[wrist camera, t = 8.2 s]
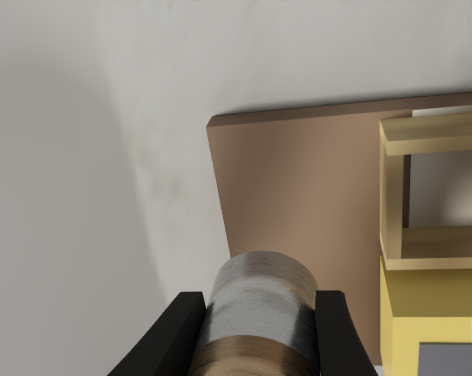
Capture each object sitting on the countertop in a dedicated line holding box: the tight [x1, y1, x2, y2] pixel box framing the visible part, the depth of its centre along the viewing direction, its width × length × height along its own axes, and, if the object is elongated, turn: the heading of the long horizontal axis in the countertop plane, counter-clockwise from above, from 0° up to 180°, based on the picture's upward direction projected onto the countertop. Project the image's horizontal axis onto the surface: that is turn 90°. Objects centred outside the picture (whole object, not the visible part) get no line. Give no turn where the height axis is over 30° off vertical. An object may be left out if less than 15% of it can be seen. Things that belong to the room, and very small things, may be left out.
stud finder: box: [380, 256, 472, 376], centre depth 18 cm, size 5×6×4 cm
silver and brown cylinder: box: [187, 250, 320, 376], centre depth 11 cm, size 3×3×5 cm
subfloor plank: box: [206, 92, 472, 366], centre depth 18 cm, size 15×13×3 cm
